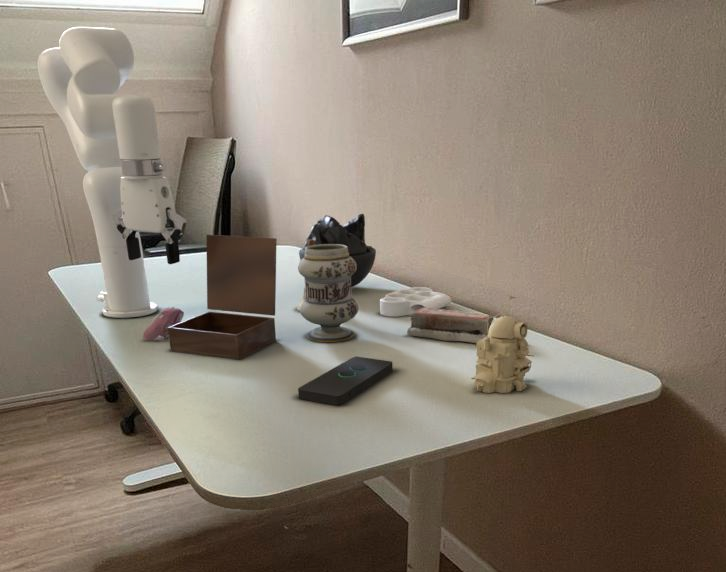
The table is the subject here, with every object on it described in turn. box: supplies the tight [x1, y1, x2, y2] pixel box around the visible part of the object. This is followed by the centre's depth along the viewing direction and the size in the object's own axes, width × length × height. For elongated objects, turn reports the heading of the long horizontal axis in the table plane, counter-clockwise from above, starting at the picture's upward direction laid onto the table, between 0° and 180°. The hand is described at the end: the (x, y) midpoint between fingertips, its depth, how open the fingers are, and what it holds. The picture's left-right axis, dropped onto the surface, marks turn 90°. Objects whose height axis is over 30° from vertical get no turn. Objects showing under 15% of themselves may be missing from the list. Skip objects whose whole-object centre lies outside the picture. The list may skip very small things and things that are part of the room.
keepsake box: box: [167, 310, 277, 360], centre depth 143 cm, size 14×16×5 cm
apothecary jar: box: [297, 244, 360, 343], centre depth 145 cm, size 12×12×18 cm
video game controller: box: [142, 306, 185, 342], centre depth 150 cm, size 10×5×7 cm, turn 168°
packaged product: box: [406, 307, 495, 344], centre depth 147 cm, size 18×5×10 cm
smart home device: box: [297, 356, 394, 406], centre depth 122 cm, size 8×2×20 cm
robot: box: [470, 294, 535, 394], centre depth 116 cm, size 10×8×15 cm
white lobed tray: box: [379, 286, 452, 318], centre depth 168 cm, size 3×18×15 cm
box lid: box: [205, 234, 278, 317], centre depth 145 cm, size 15×16×1 cm
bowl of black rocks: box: [298, 213, 377, 288], centre depth 185 cm, size 20×20×19 cm
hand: (154, 260), depth 145 cm, fingers open, 9 cm apart
